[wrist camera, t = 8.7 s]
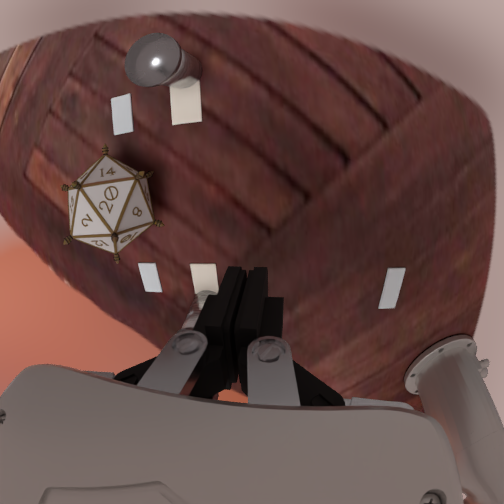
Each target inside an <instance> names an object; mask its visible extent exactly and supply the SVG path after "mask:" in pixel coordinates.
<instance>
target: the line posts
mask: <svg viewBox="0 0 504 504" xmlns="http://www.w3.org/2000/svg"><path fill="white" fill-rule="evenodd" d="M125 71H126V74H127V76H128V78H129V79H130V80H131V81H132V82H133V83H135V84H137V85H139V86H145V87H155V86H159V85H165V86H170V87H175V88H180V89H183V88H188V87H190V86H192V85H194V84H195V83H196V82H197V81H199V79H200V77H201V75H202V65H201V63H200V61H199V60H198V59H197V58H195V57H194V56H192V55H191V54H189V53H187V52H186V51H184V50H182V49H181V47H180V45H179V44H178V42H177V41H176V40H175V39H173V38H172V37H170V36H168V35H166V34H163V33H152V34H148V35H146V36H144V37H142V38H140V39H139V40H137V41H136V42H135V43H134V44H133V45H132V47H131V48H130V49H129V51H128V53H127V56H126V59H125ZM210 294H211V295H217V293H215V292H213V291H209V290H203V291H200V292H198V293H197V294H196V295H195V298H194V300H193V303H192V305H191V307H190V310H189V312H188V315H187V317H186V320H185V322H184V325H183V327H182V329H180V330H179V331H178V332H177V333H179V332H182V331H188V330H193V328H194V325H195V323H196V321H197V319H198V316H199V314H200V312H201V310H202V307H203V305H204V303H205V301H206V298H207V296H208V295H210ZM177 333H176V334H177Z"/></svg>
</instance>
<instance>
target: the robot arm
mask: <svg viewBox="0 0 504 504" xmlns="http://www.w3.org/2000/svg"><path fill="white" fill-rule="evenodd" d="M283 301H284V297H268V270H267V267H254V270H249V274H248V277H247V274H246V270H242V267H233V266H228V268H227V271H226V273H225V276H224V278H223V281H222V283H221V285H220V288H219V290H218V293H217V295H211V294H210V295H208V296H207V298H206V301H205V303H204V305H203V307H202V310H201V312H200V314H199V316H198V319H197V321H196V323H195V325H194V328H193V330H188V331H182V332H179V333H177V334H176V335H174V336H173V337H172V338H171V339H170V340H169V341H168V343H167V344H166V345H165V347H164V348H163V350H162V351H161V352H160V354H159V355H158V356H157V357H154V358H152V359H150V360H147V361H145V362H143V363H140V364H138V365H136V366H133V367H131V368H129V369H126V370H124V371H122V372H120V373H118V374H117V375H115V374H114V373H111V372H94V371H81V370H78V369H74V368H70V367H66V366H61V365H53V364H38V365H32V366H29V367H27V368H25V369H24V370H23V371H21V372H20V373H19V374H18V375H17V376H16V377H15V379H14V380H13V381H12V382H11V383H10V385H9V386H8V387H7V389H6V390H5V391H4V392H3V394H2V395H1V397H0V504H504V427H503V424H502V422H501V419H500V417H499V414H498V412H497V410H496V407H495V405H494V402H493V400H492V398H491V396H490V393H489V392H488V389H487V387H486V385H485V383H484V381H483V379H482V378H485V377H486V376H487V374H488V370H487V368H486V367H488V366H489V360H488V359H484V360H481V361H478V359H477V357H476V351H477V346H476V343H475V341H474V340H473V338H472V337H470V336H468V335H456V336H452V337H449V338H446V339H444V340H442V341H440V342H438V343H436V344H435V345H433V346H431V347H430V348H429V349H427V350H426V351H425V352H423V353H422V354H421V355H420V356H419V357H418V358H417V359H416V360H415V361H414V362H413V363H412V364H411V366H410V367H409V368H408V370H407V372H406V374H405V377H404V383H405V387H406V389H407V391H409V392H410V393H412V394H418V395H419V396H420V399H421V402H422V405H423V408H424V412H425V413H422V412H419V411H416V410H414V409H413V407H411V406H410V405H408V404H406V403H402V402H392V401H381V400H372V399H364V398H356V397H352V399H351V400H350V399H343V398H342V396H341V395H340V394H339V393H337V392H336V391H335V390H333V389H332V388H330V387H329V386H327V385H326V384H325V383H323V382H322V381H321V380H319V379H318V378H316V377H315V376H314V375H312V374H311V373H310V372H308V371H307V370H306V369H304V368H303V367H301V366H300V365H299V364H297V363H296V362H295V361H293V360H292V355H291V349H290V347H289V344H288V343H287V342H286V341H285V340H283V339H282V328H283ZM238 374H239V379H240V383H241V388H242V391H243V392H244V393H245V394H246V395H247V396H248V403H238V402H229V401H220V400H218V396H219V395H218V393H219V392H221V391H222V390H224V389H227V390H230V389H231V385H232V382H233V383H236V382H237V379H238ZM462 493H464V494H465V495H466V496H467V497H466V498H465V499H464V500H463V496H462Z"/></svg>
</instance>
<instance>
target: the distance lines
mask: <svg viewBox="0 0 504 504" xmlns="http://www.w3.org/2000/svg"><path fill="white" fill-rule="evenodd" d="M170 98H171V113H172V125H176V124H184V123H192V122H202V111H201V94H200V81H197V82H196V83H195V84H194V85H192V86H190V87H188V88H183V89H180V88H175V87H170ZM111 104H112V117H113V127H114V135H118V134H123V133H128V132H133V131H134V128H133V117H132V104H131V94H127V95H123V96H119V97H115V98H112V99H111ZM138 265H139V269H140V273H141V276H142V280H143V284H144V287H145V291H149V292H162V287H161V283H160V279H159V275H158V271H157V267H156V263H138ZM190 267H191V272H192V278H193V284H194V289H195V294H197V293H198V292H200V291H203V290H209V291H213V292H215V293H218V290H219V286H218V278H217V270H216V264H207V263H190ZM405 269H406V268H388V269H387V274H386V278H385V283H384V287H383V291H382V295H381V299H380V303H379V306H378V309H384V308H395V305H396V302H397V299H398V295H399V292H400V288H401V284H402V281H403V277H404V273H405Z"/></svg>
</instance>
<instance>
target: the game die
mask: <svg viewBox="0 0 504 504" xmlns="http://www.w3.org/2000/svg"><path fill="white" fill-rule="evenodd" d="M102 149H103V151H102V152H103V156H102V157H101V158H100V159H98V160H97V161H96V162H95V163H94V164H93V165H92V166H91V167H90V168H88V169H87V170H86V171H85V172H84V173H83V174H82V175H81V176H80V177H79V178H78V179H77V180H76V181H74V182H72V185H71V186H70V187H68V185H66V184H64V185H62V186H61V188H62V190H64V191H68V210H69V226H70V236H68V237H67V238H64V239H65V240H64V243H63V245H64V244H69V243H70V242H71V240H72V239H76V240H78V241H81V242H84V243H86V244H89V245H92V246H94V247H97V248H100V249H102V250H105V251H108V252H111V253H113V254H114V260H115V261H116V262H117V263H118V262H119V260H120V258H119V255H118V253H119V252H120V251H121V250H122V249H123V248H124V247H126V246H127V245H128V244H129V243H130V242H132V241H133V240H134V239H135V238H136V237H138V236H139V235H140V234H141V233H143V232H144V231H145V230H146V229H148V228H149V227H150V226H151V225H153V224H155V225H156V226H159V227H161V226H165V225H164V224H163V223H162V221H159V220H155V218H154V213H153V208H152V202H151V197H150V192H149V186H148V180H147V178H150V177H152V174H153V172H154V171H152V172H150V171H148V173H146V175H144V171H137V170H135V169H133V168H131V167H129V166H128V165H126V164H124V163H122V162H120V161H119V160H117V159H115V158H113V157H111V156H109V155H108V154H107V153H108V151H109V150H108V147H107V146H106V144H105V145H104V147H103V148H102Z"/></svg>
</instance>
